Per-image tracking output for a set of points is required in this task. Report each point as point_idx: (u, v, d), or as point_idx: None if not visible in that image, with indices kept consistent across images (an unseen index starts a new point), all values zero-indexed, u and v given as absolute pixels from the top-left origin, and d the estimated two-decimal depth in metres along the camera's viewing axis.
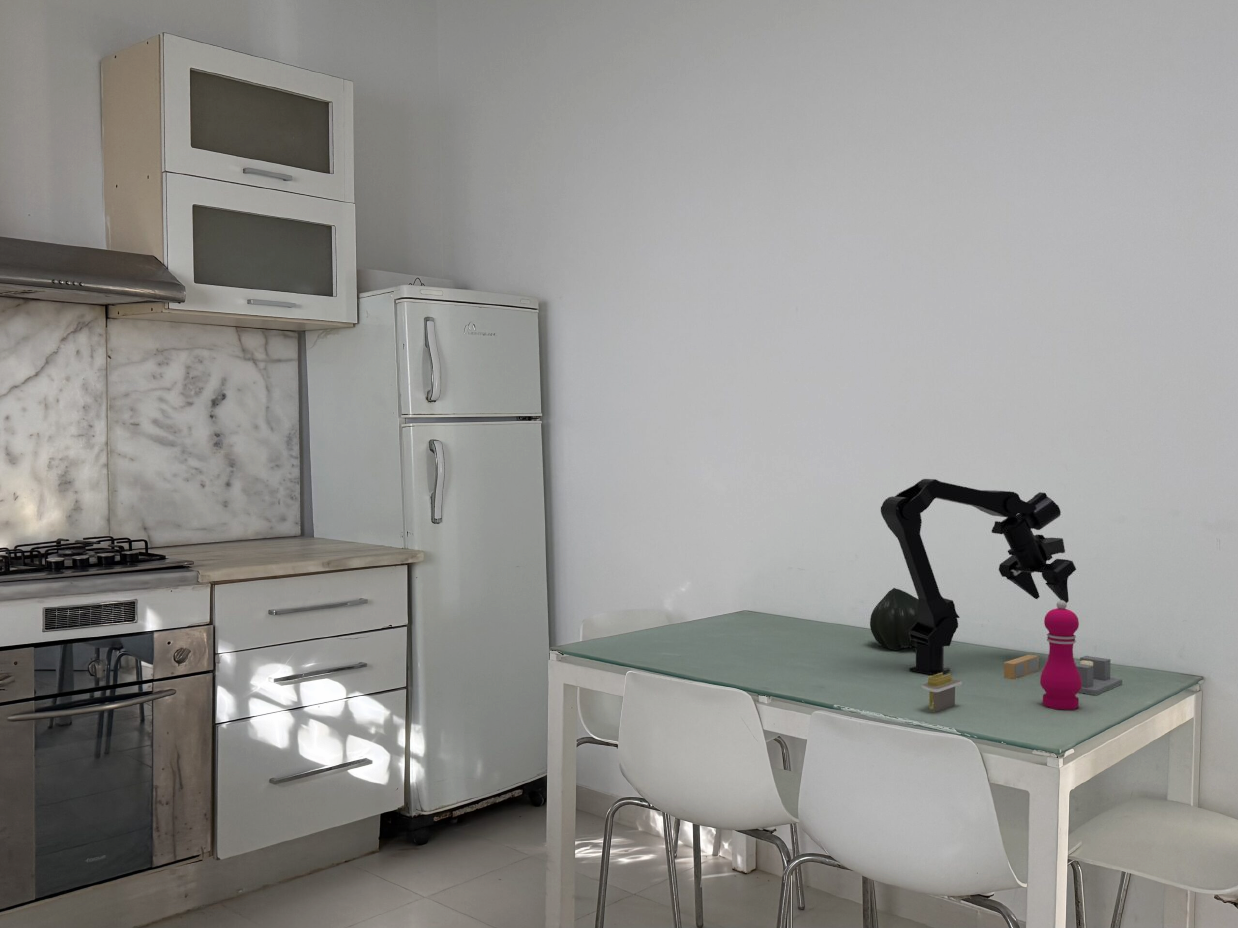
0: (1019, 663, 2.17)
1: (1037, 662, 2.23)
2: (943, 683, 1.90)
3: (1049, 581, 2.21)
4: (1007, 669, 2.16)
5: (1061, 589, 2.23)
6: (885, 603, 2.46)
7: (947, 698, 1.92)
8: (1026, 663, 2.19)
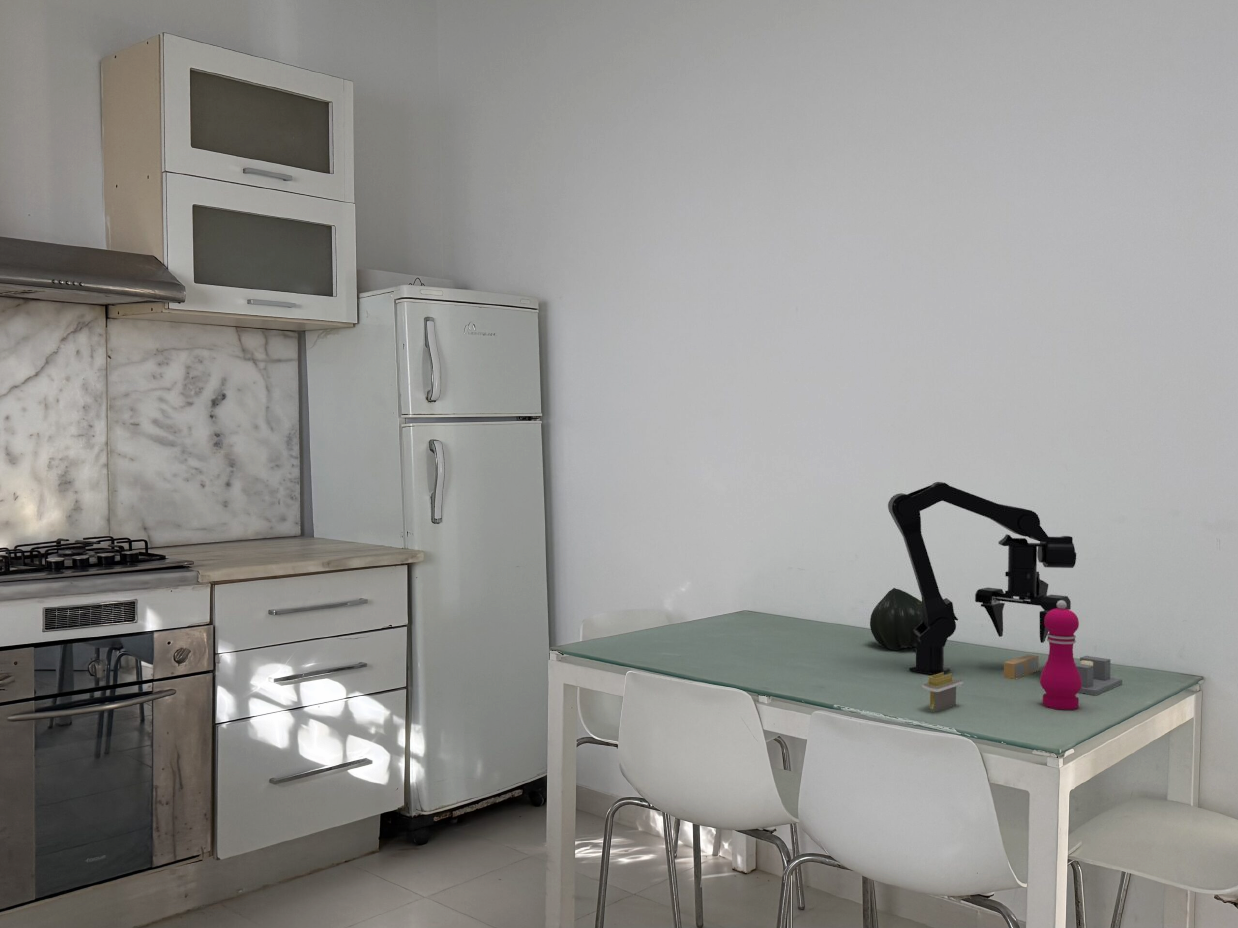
0: (1019, 663, 2.17)
1: (1037, 662, 2.23)
2: (944, 683, 1.91)
3: (1048, 609, 2.13)
4: (1007, 669, 2.16)
5: None
6: (885, 603, 2.46)
7: (948, 697, 1.92)
8: (1026, 664, 2.19)
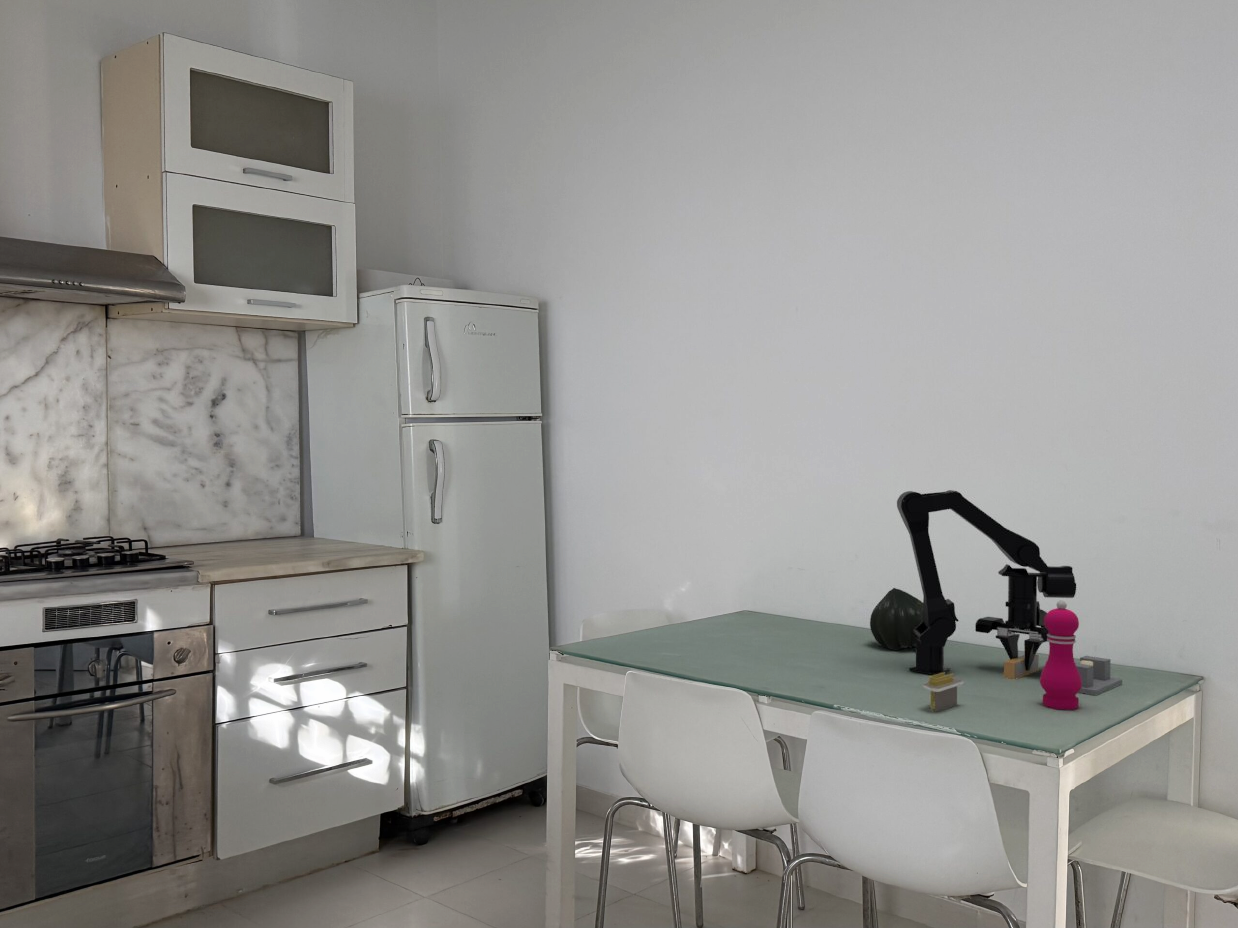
0: (1019, 662, 2.17)
1: (1037, 661, 2.23)
2: (944, 683, 1.91)
3: None
4: (1007, 668, 2.16)
5: (1032, 653, 2.18)
6: (885, 603, 2.46)
7: (948, 697, 1.92)
8: None
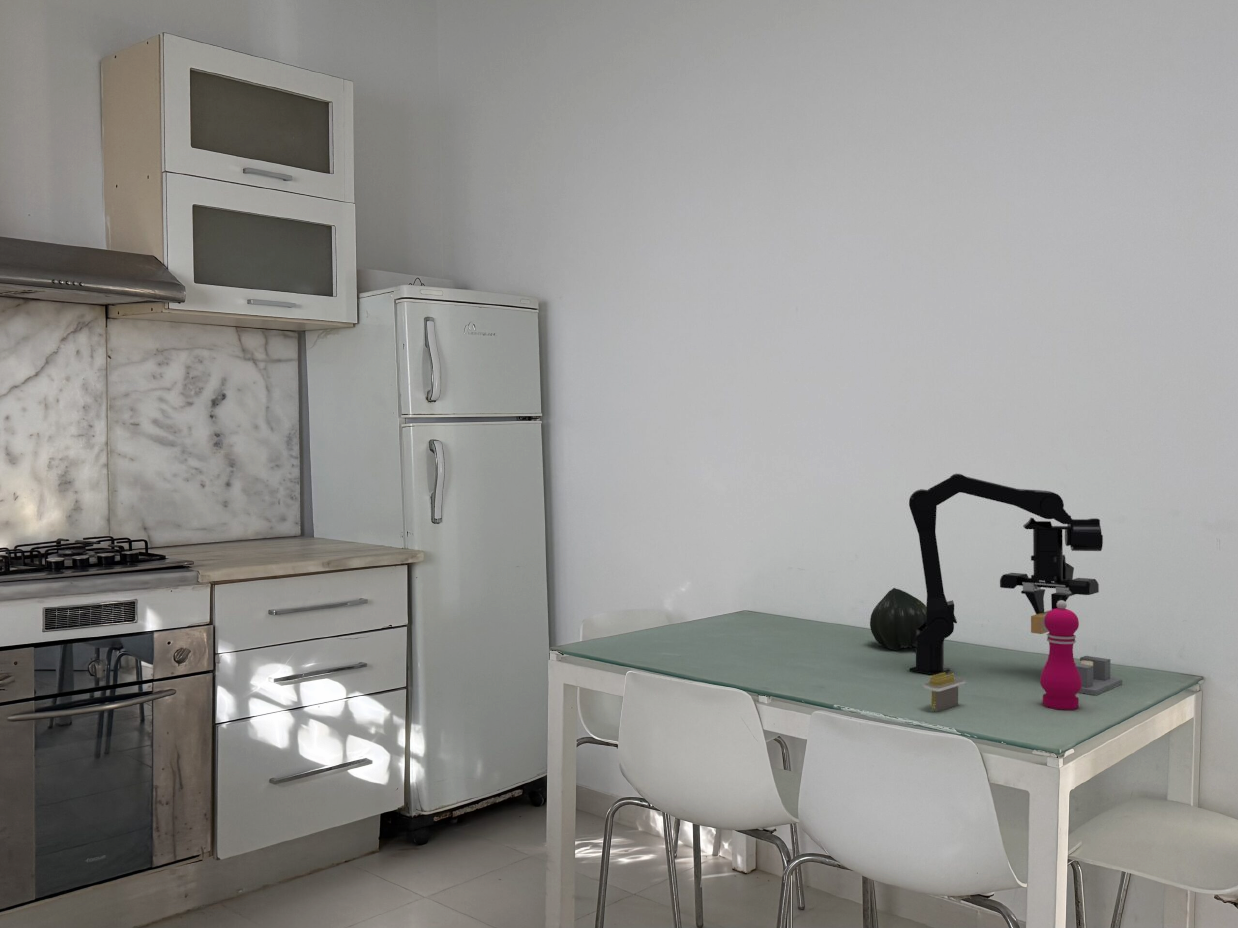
0: None
1: None
2: (945, 682, 1.91)
3: (1076, 592, 2.09)
4: (1034, 623, 2.12)
5: None
6: (885, 603, 2.46)
7: (949, 697, 1.92)
8: None
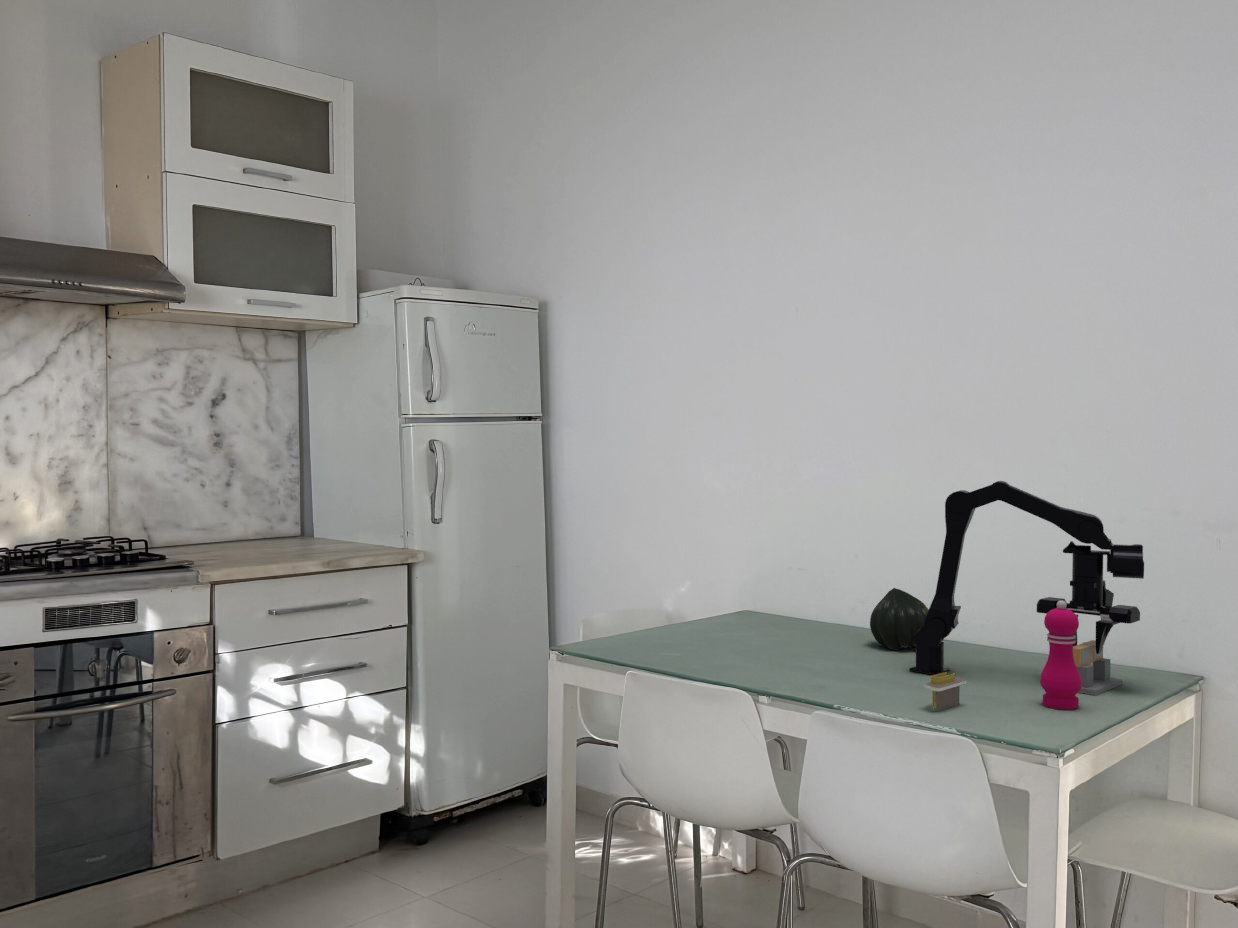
0: (1084, 648, 2.06)
1: (1102, 648, 2.12)
2: (946, 682, 1.91)
3: (1117, 620, 2.02)
4: None
5: (1103, 635, 2.06)
6: (885, 603, 2.46)
7: (950, 697, 1.92)
8: (1091, 649, 2.08)
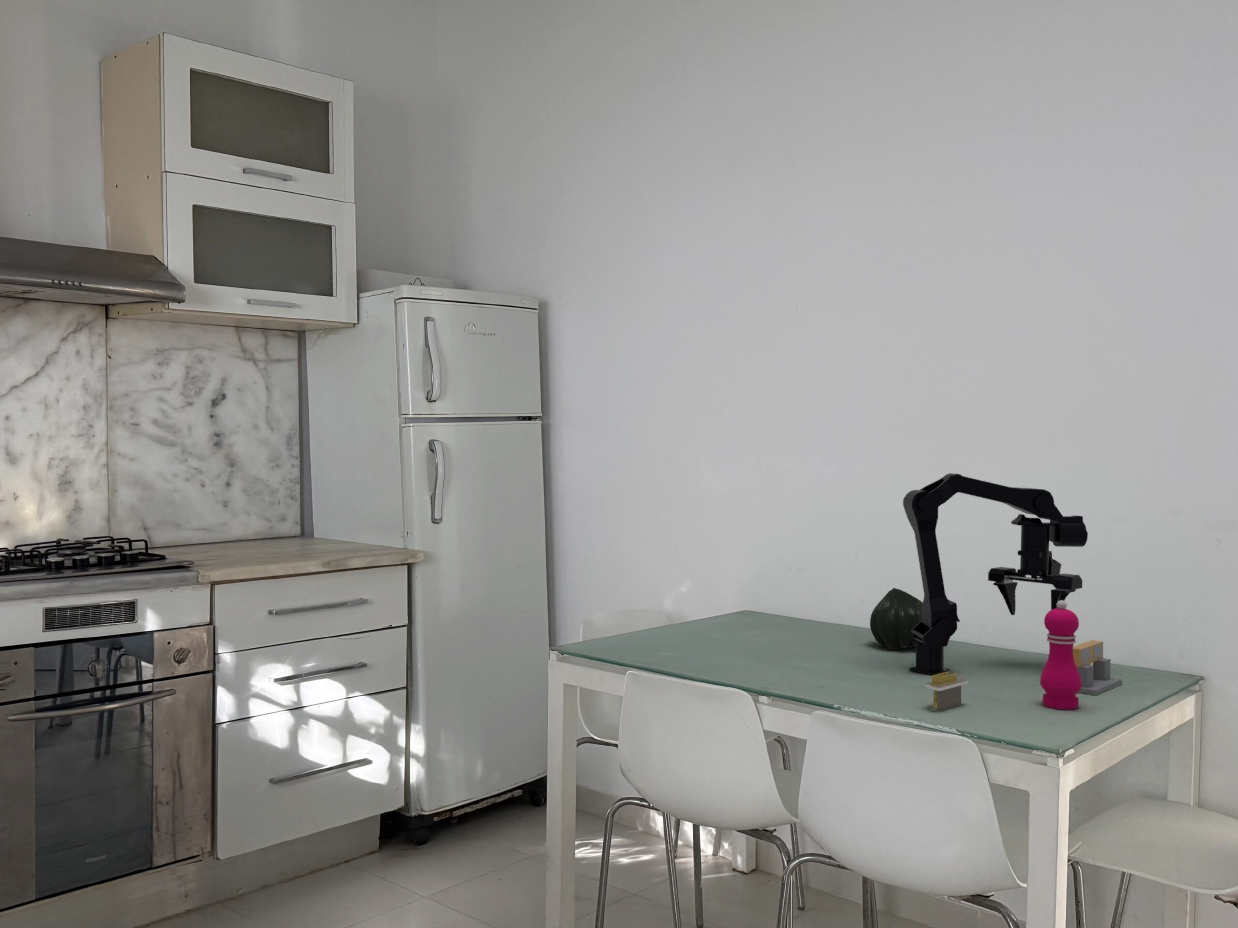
0: (1084, 648, 2.06)
1: (1102, 648, 2.12)
2: (947, 682, 1.91)
3: (1059, 587, 2.15)
4: None
5: None
6: (885, 603, 2.46)
7: (952, 697, 1.92)
8: (1091, 649, 2.08)
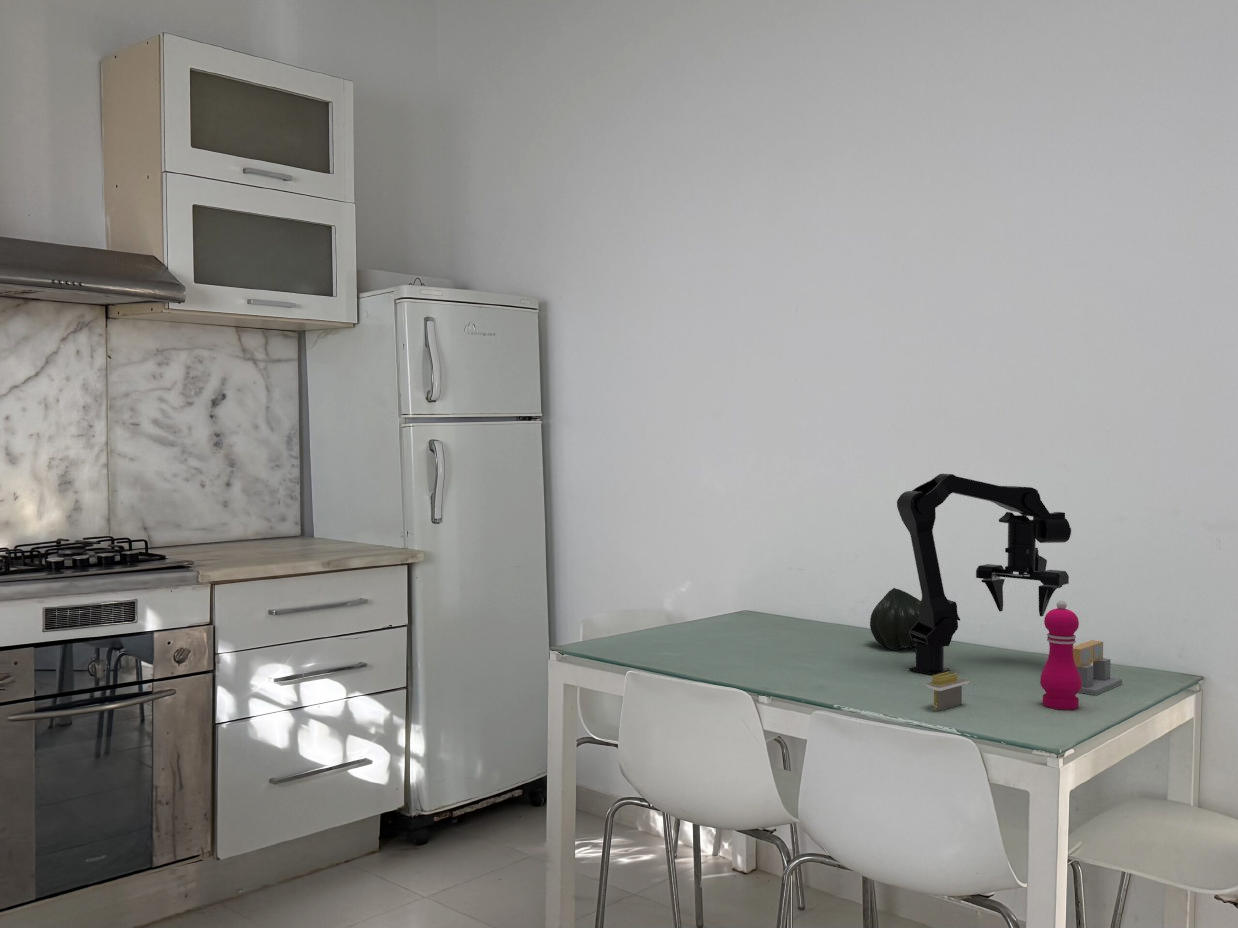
0: (1084, 648, 2.06)
1: (1102, 648, 2.12)
2: (948, 682, 1.91)
3: (1046, 583, 2.19)
4: None
5: (1046, 599, 2.22)
6: (885, 603, 2.46)
7: (952, 697, 1.92)
8: (1091, 649, 2.08)
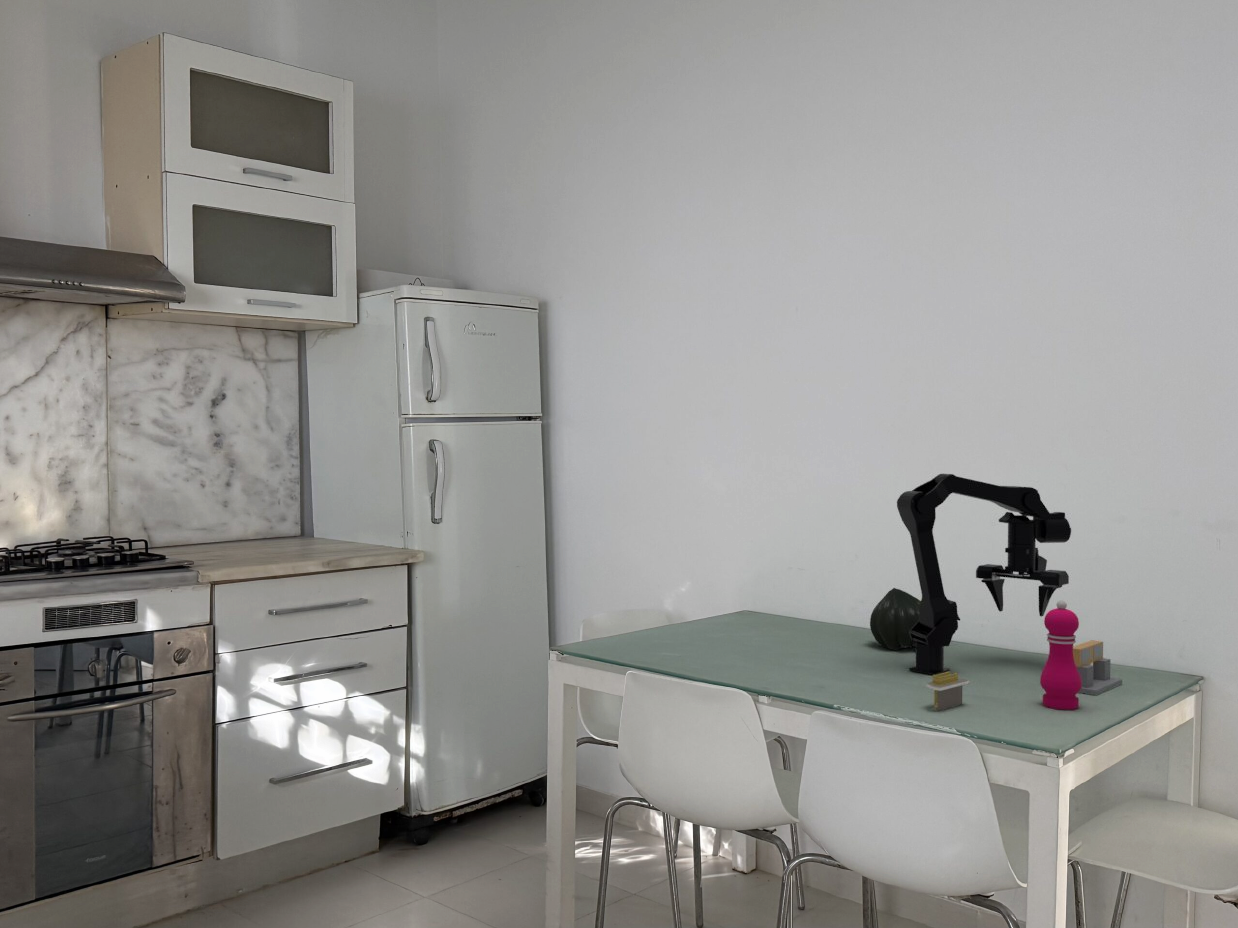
0: (1084, 648, 2.06)
1: (1102, 648, 2.12)
2: (948, 682, 1.91)
3: (1046, 583, 2.19)
4: None
5: (1046, 599, 2.22)
6: (885, 603, 2.46)
7: (953, 696, 1.92)
8: (1091, 649, 2.08)
